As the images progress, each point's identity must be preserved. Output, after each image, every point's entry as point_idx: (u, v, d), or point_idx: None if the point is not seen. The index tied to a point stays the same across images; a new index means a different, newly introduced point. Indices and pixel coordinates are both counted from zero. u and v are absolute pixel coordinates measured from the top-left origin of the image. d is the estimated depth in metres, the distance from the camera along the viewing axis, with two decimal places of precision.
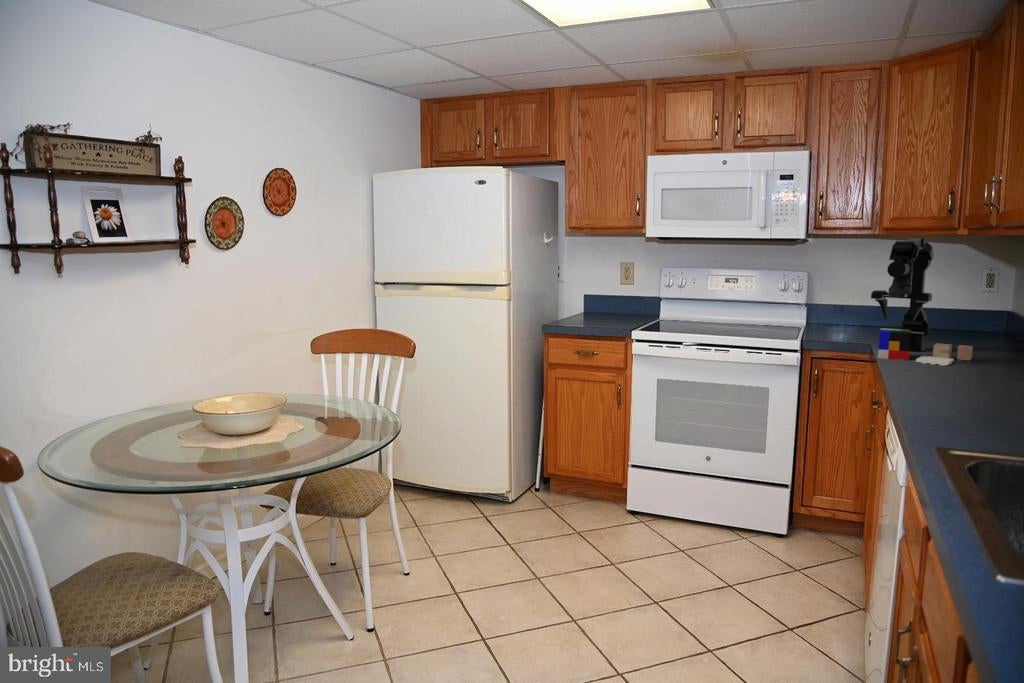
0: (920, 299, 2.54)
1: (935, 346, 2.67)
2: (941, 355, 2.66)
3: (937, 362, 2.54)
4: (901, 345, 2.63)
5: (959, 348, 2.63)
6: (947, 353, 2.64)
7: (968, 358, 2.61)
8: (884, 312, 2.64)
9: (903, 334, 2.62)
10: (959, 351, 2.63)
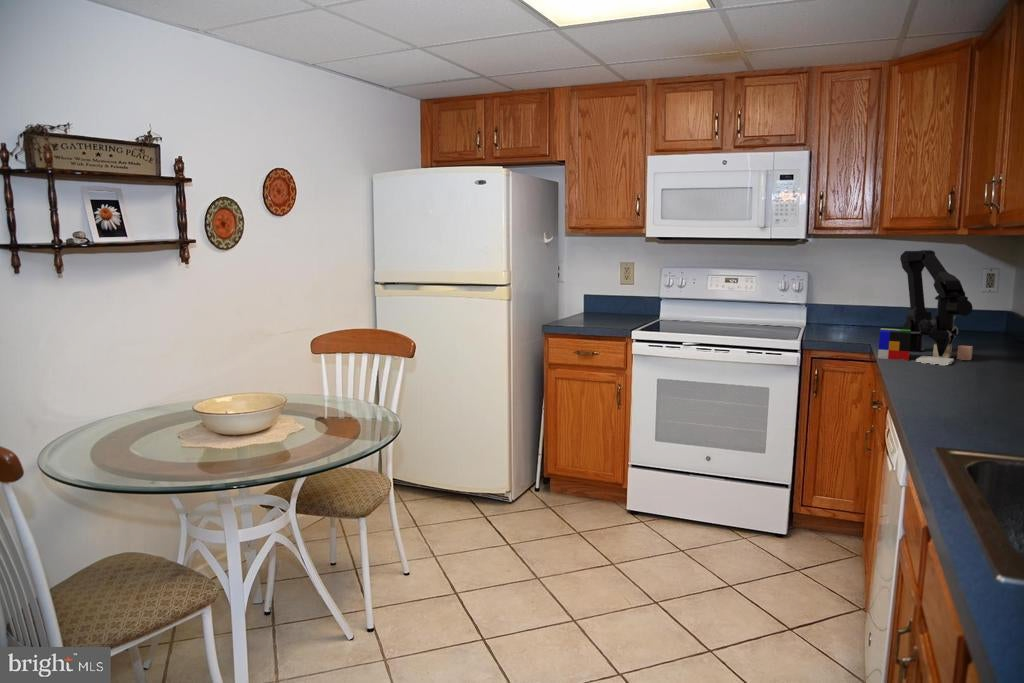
0: None
1: (935, 346, 2.67)
2: None
3: (937, 362, 2.54)
4: (901, 345, 2.63)
5: (959, 348, 2.63)
6: (947, 353, 2.64)
7: (968, 358, 2.61)
8: None
9: (903, 334, 2.62)
10: (959, 351, 2.63)
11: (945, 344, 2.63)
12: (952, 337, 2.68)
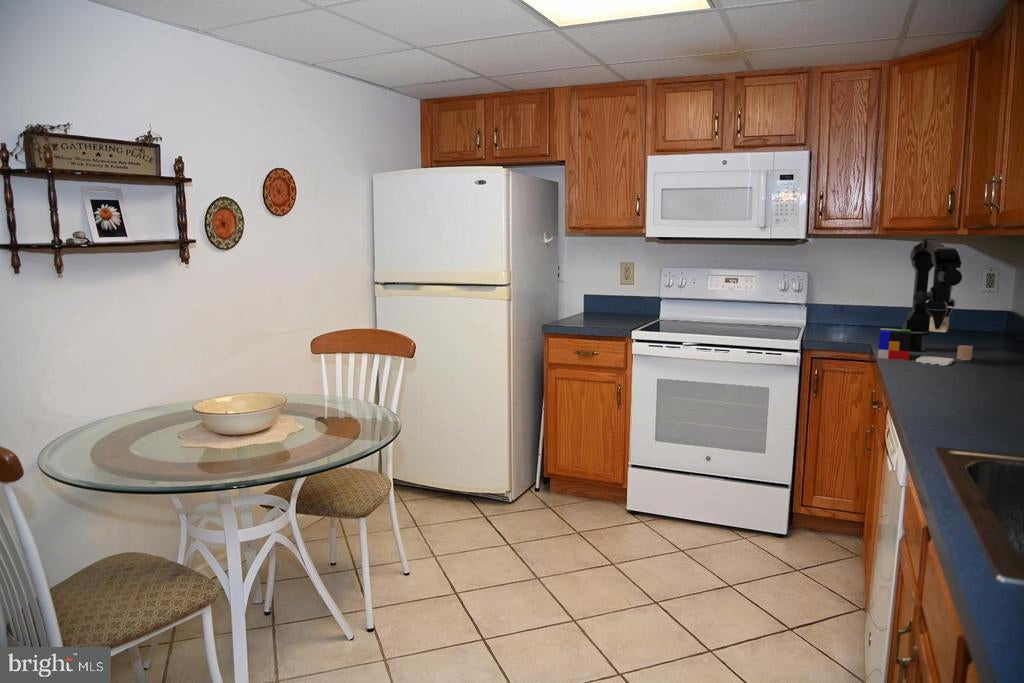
0: None
1: (932, 318, 2.56)
2: None
3: (937, 362, 2.54)
4: (901, 345, 2.63)
5: (959, 348, 2.63)
6: (944, 325, 2.54)
7: (968, 358, 2.61)
8: None
9: (903, 334, 2.62)
10: (959, 351, 2.63)
11: (942, 316, 2.52)
12: (949, 309, 2.57)
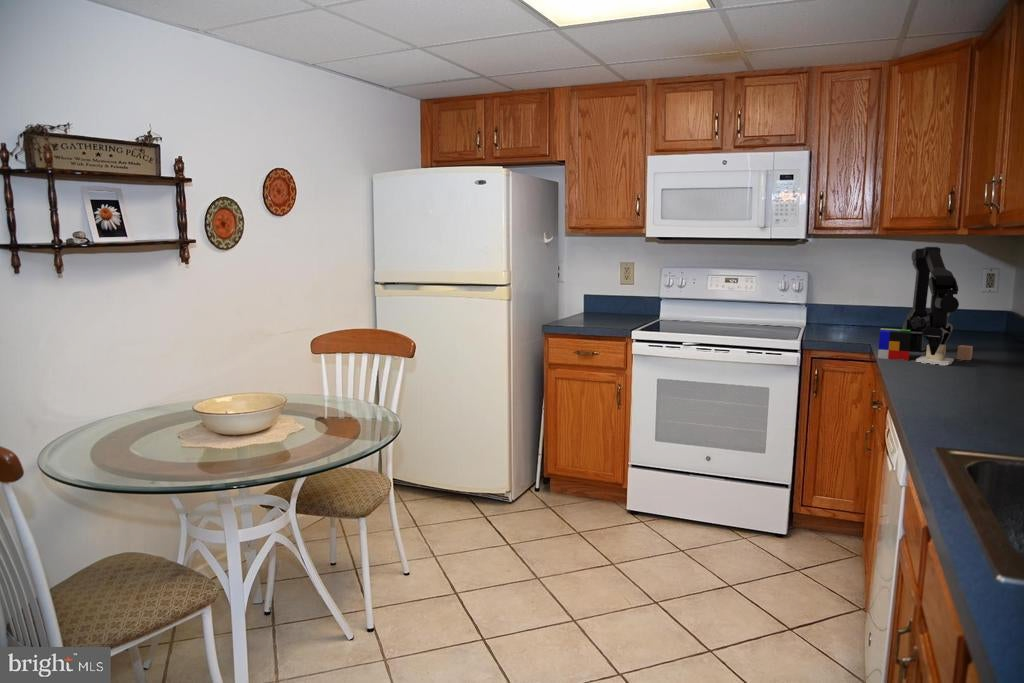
0: None
1: (928, 346, 2.57)
2: (935, 356, 2.56)
3: (937, 362, 2.54)
4: (901, 345, 2.63)
5: (959, 348, 2.63)
6: (941, 354, 2.55)
7: (968, 358, 2.61)
8: None
9: (903, 334, 2.62)
10: (959, 351, 2.63)
11: (937, 342, 2.52)
12: (947, 334, 2.60)
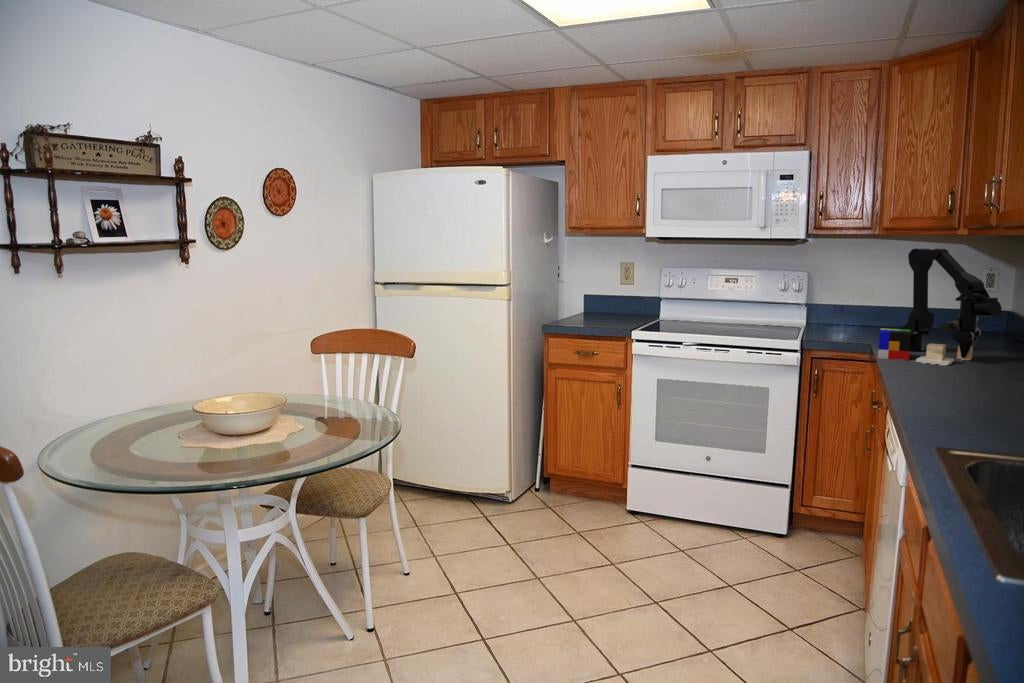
0: None
1: (928, 346, 2.57)
2: (935, 356, 2.56)
3: (937, 362, 2.54)
4: (901, 345, 2.63)
5: (959, 348, 2.63)
6: (941, 354, 2.55)
7: (968, 358, 2.61)
8: None
9: (903, 334, 2.62)
10: (959, 351, 2.63)
11: (968, 346, 2.59)
12: (974, 339, 2.63)
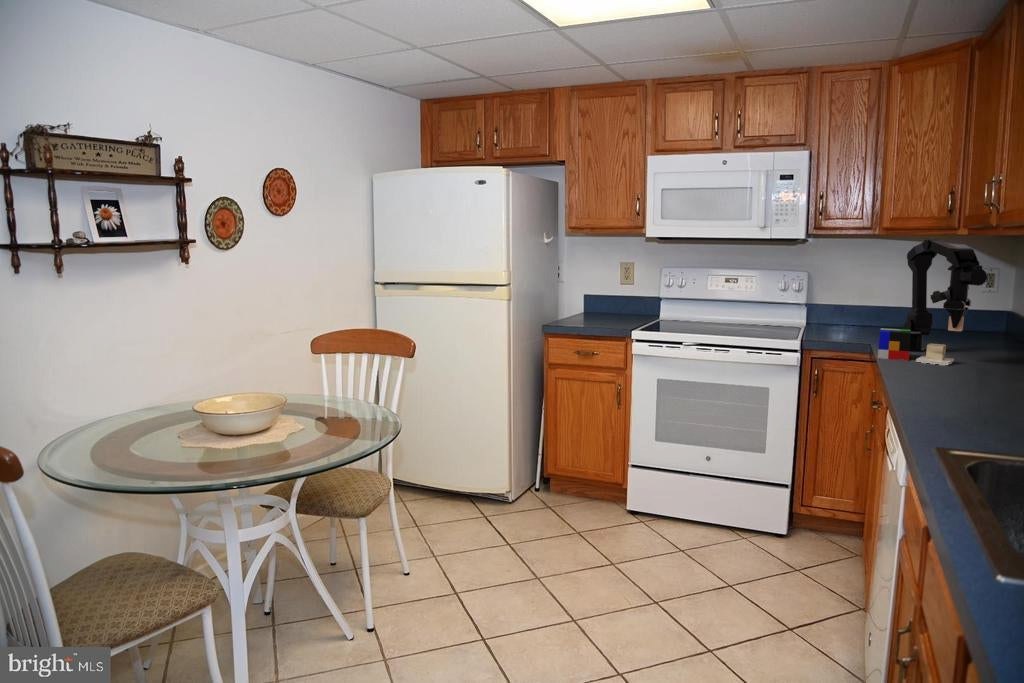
0: None
1: (928, 346, 2.57)
2: (935, 356, 2.56)
3: (937, 362, 2.54)
4: (901, 345, 2.63)
5: (950, 318, 2.59)
6: (941, 354, 2.55)
7: (959, 328, 2.57)
8: None
9: (903, 334, 2.62)
10: (950, 321, 2.59)
11: (959, 315, 2.55)
12: (965, 309, 2.59)
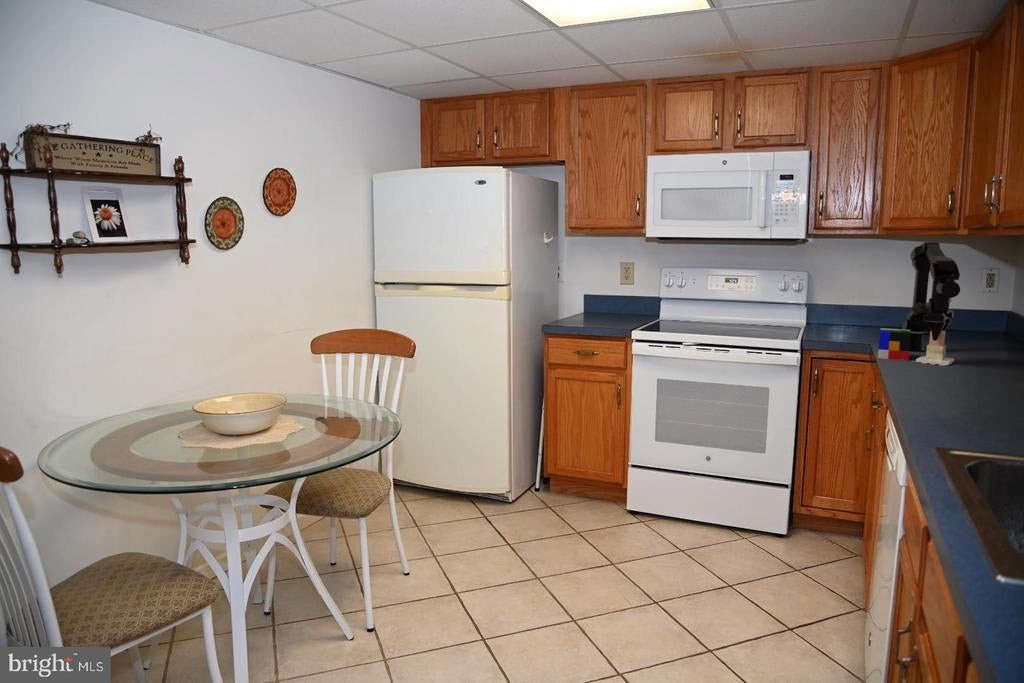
0: None
1: (928, 346, 2.57)
2: (935, 356, 2.56)
3: (937, 362, 2.54)
4: (901, 345, 2.63)
5: (931, 333, 2.57)
6: (941, 354, 2.55)
7: (940, 343, 2.55)
8: None
9: (903, 334, 2.62)
10: (931, 336, 2.57)
11: (940, 328, 2.52)
12: (948, 320, 2.58)
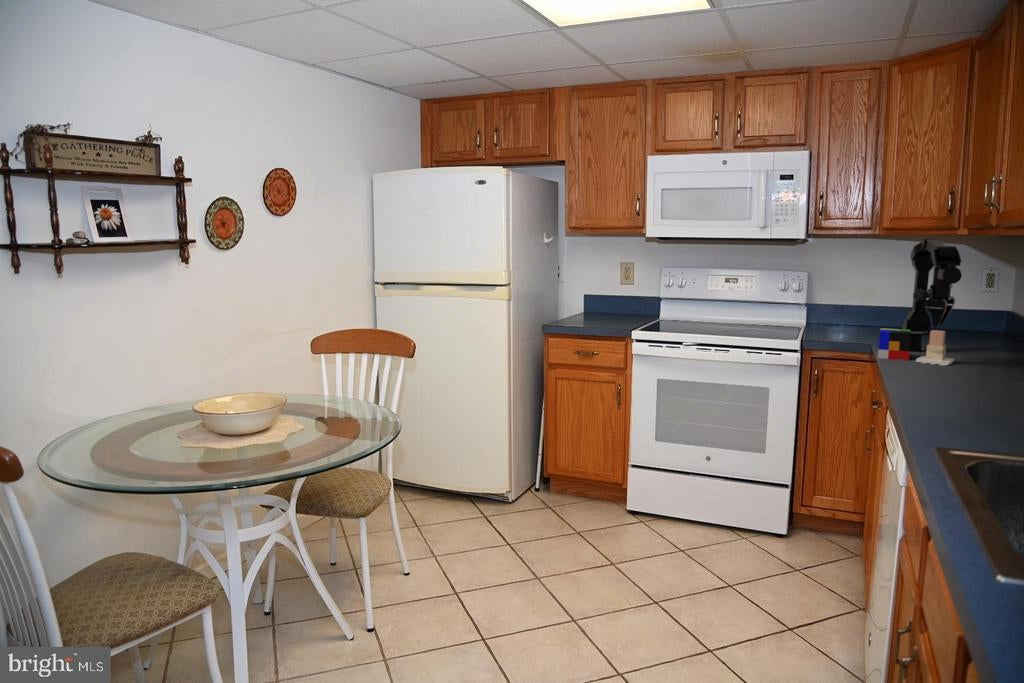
0: None
1: (928, 346, 2.57)
2: (935, 356, 2.56)
3: (937, 362, 2.54)
4: (901, 345, 2.63)
5: (931, 333, 2.57)
6: (941, 354, 2.55)
7: (940, 343, 2.55)
8: None
9: (903, 334, 2.62)
10: (931, 336, 2.57)
11: (940, 314, 2.51)
12: (950, 307, 2.58)
